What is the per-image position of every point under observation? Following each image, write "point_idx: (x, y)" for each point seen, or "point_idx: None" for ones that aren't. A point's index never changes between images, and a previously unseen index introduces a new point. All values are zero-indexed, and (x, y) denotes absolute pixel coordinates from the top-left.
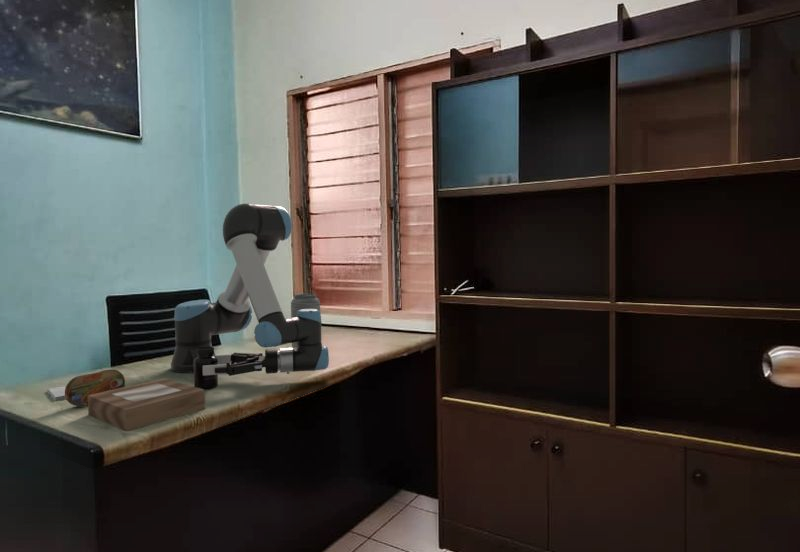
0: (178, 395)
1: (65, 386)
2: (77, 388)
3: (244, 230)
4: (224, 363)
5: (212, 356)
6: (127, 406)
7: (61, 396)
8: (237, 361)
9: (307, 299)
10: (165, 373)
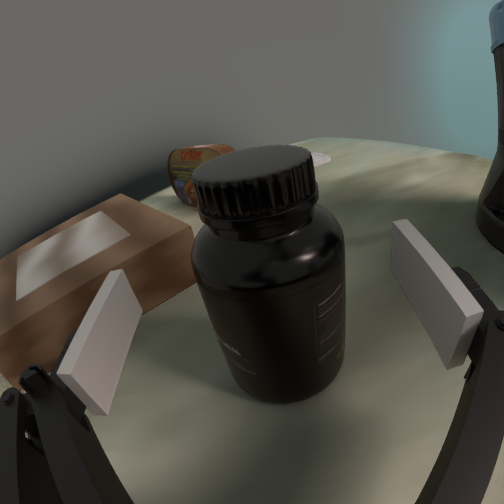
0: None
1: (311, 153)
2: (177, 169)
3: None
4: (429, 334)
5: (233, 245)
6: (8, 257)
7: None
8: (456, 416)
9: None
10: (458, 205)
